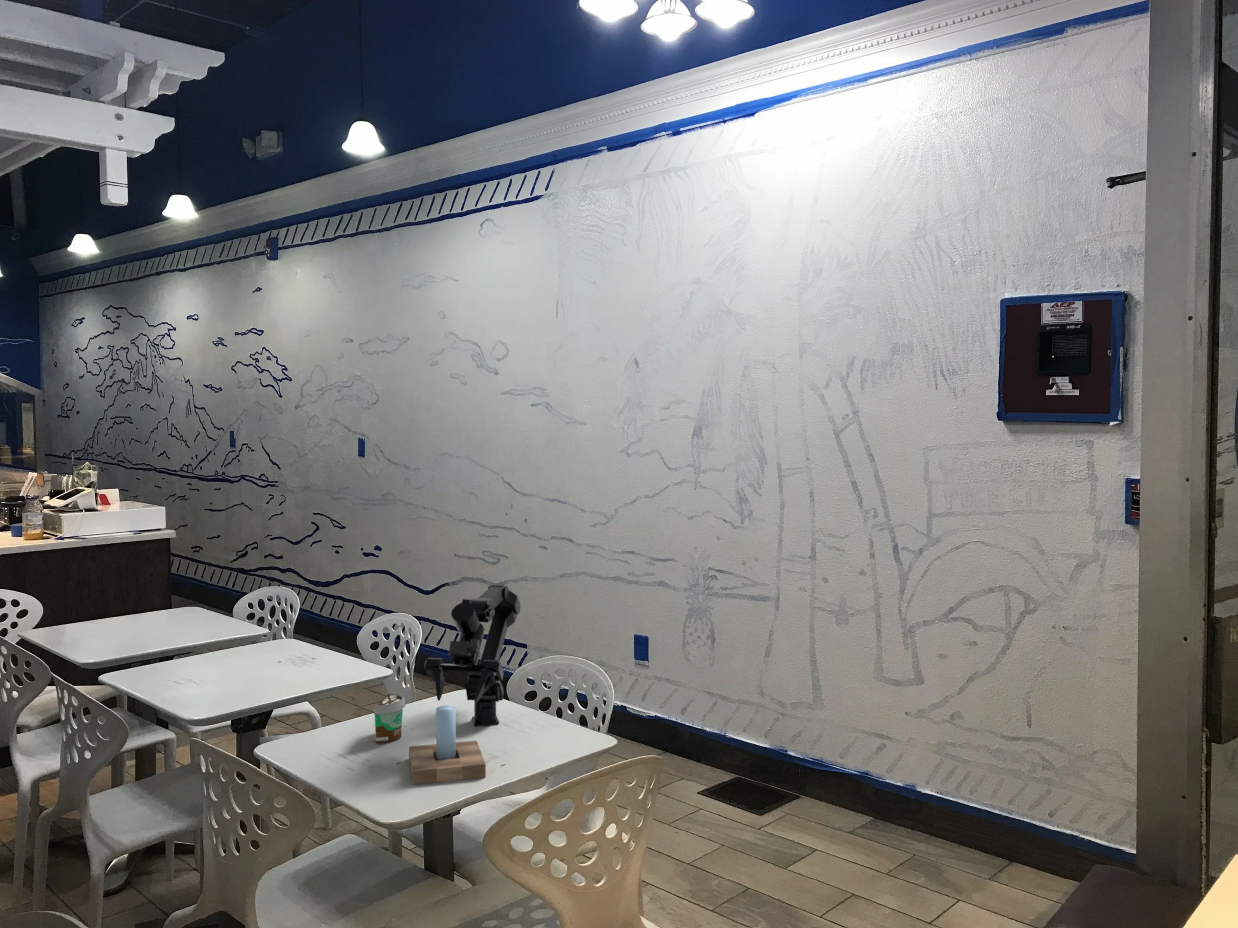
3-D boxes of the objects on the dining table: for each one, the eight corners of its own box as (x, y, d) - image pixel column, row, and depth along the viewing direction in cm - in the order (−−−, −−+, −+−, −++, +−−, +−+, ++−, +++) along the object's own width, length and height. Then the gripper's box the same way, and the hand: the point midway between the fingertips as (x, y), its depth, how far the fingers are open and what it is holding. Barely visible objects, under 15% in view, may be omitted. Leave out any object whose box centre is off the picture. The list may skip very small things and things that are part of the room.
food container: (399, 746, 236) (398, 706, 236) (374, 745, 236) (373, 705, 236) (411, 729, 249) (410, 691, 248) (387, 729, 249) (386, 691, 248)
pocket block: (408, 758, 228) (408, 746, 228) (476, 752, 232) (476, 740, 232) (413, 784, 212) (412, 770, 212) (485, 776, 217) (485, 763, 217)
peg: (435, 765, 224) (435, 706, 223) (454, 763, 225) (454, 704, 224) (437, 772, 220) (436, 711, 219) (456, 770, 221) (456, 710, 220)
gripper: (426, 625, 236) (410, 682, 225) (500, 627, 233) (488, 685, 223) (436, 649, 244) (422, 705, 234) (508, 651, 242) (497, 708, 231)
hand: (457, 700), depth 230 cm, fingers open, 9 cm apart
